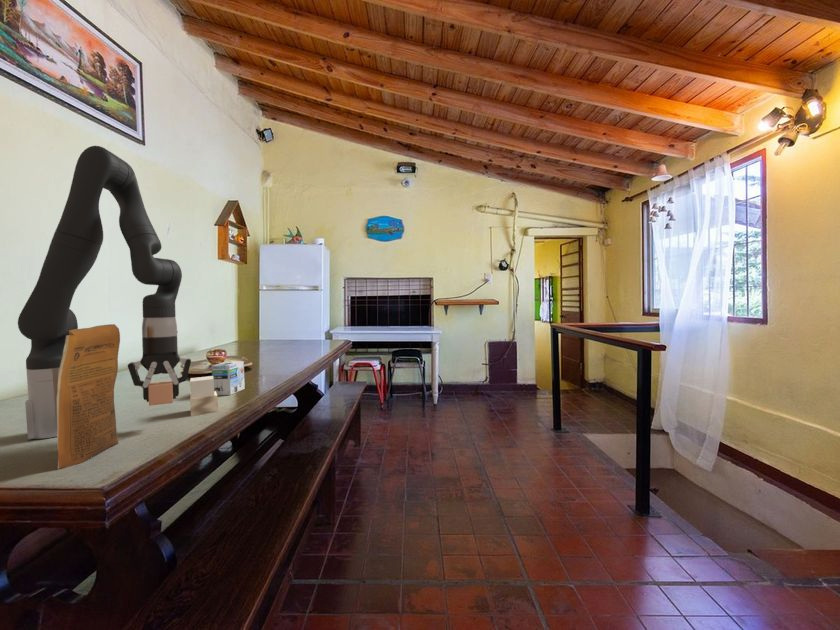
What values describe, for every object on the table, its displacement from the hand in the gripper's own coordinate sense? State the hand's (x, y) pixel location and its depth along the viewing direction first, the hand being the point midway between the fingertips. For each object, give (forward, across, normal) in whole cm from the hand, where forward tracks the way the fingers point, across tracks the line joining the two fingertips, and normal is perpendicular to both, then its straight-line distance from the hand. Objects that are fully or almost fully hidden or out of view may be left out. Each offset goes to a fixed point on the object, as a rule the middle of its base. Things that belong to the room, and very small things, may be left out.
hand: (161, 399), depth 98 cm
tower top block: (+2, +9, +12) cm, 15 cm away
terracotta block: (+1, 0, 0) cm, 1 cm away
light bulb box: (+7, +18, +35) cm, 40 cm away
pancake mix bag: (+8, -12, -11) cm, 18 cm away
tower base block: (+7, +10, +12) cm, 17 cm away
